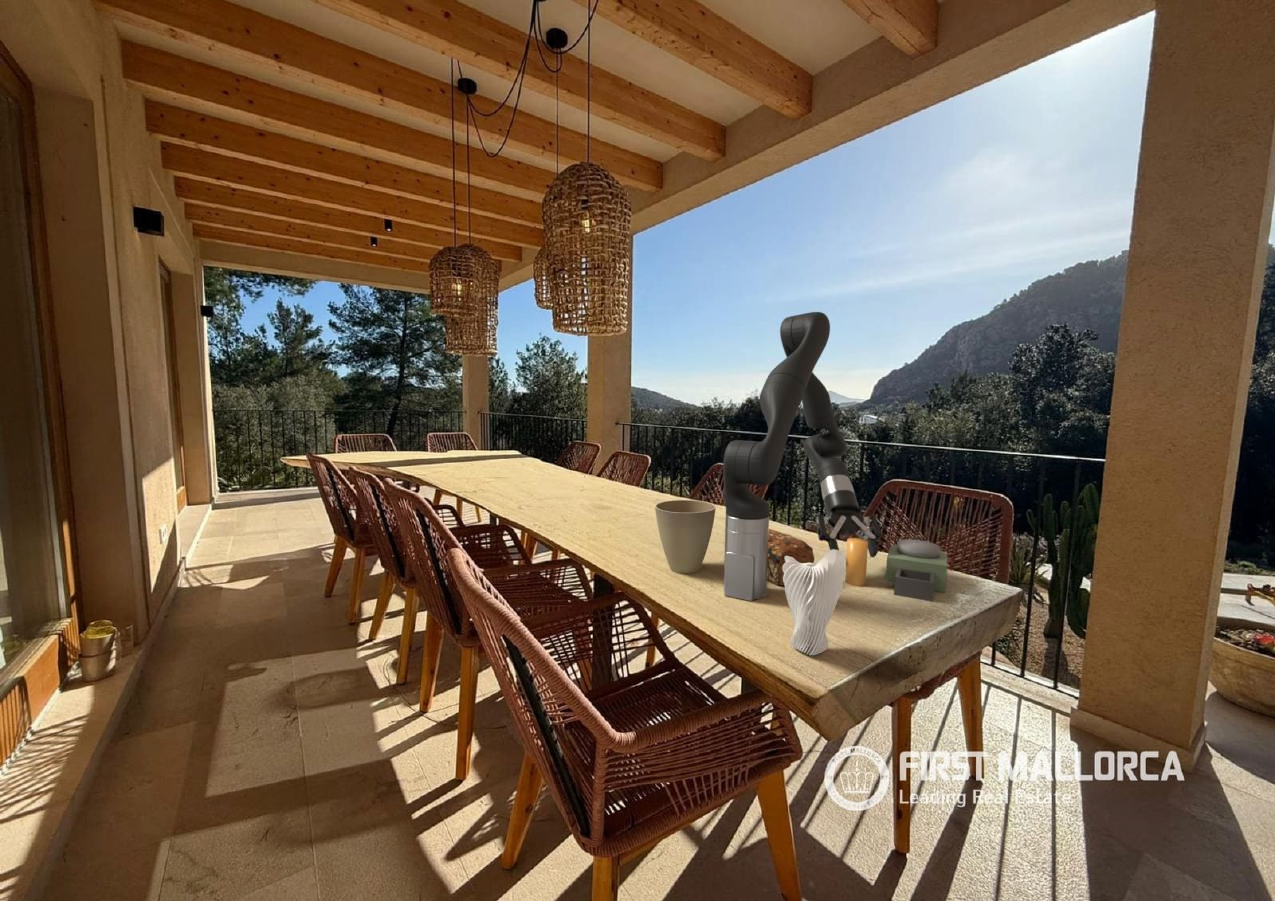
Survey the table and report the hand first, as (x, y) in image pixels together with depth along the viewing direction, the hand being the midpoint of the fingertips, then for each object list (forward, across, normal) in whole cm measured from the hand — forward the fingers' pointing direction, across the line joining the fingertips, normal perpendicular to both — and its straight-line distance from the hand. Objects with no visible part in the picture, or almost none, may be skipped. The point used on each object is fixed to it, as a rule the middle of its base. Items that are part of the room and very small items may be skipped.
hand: (855, 555), depth 121 cm
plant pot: (-1, -39, +10) cm, 40 cm away
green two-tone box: (+5, +14, +4) cm, 15 cm away
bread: (0, -18, +9) cm, 20 cm away
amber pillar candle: (+5, 0, +4) cm, 6 cm away
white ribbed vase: (+28, -21, -19) cm, 40 cm away
